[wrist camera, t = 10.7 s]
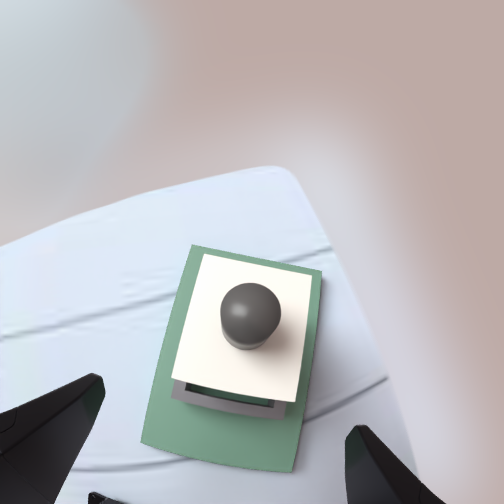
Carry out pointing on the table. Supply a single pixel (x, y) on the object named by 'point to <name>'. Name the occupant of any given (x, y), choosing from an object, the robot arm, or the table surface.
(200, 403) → the header board
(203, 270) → the plug block
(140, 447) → the table surface
